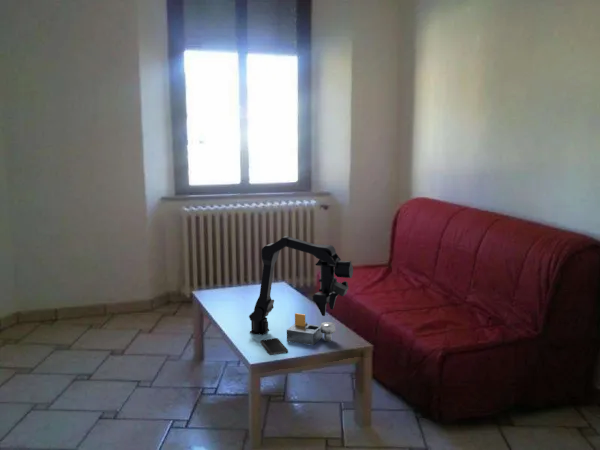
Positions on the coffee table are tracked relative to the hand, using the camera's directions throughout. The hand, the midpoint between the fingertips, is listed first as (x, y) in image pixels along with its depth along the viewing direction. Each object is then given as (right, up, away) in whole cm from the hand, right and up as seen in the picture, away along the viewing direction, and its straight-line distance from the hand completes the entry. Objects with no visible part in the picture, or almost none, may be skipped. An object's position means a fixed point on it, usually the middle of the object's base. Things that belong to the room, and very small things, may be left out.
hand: (327, 312), depth 244 cm
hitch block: (-10, -12, +4) cm, 16 cm away
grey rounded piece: (0, -12, +2) cm, 12 cm away
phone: (-22, -14, -5) cm, 27 cm away
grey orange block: (-12, -6, +6) cm, 14 cm away
